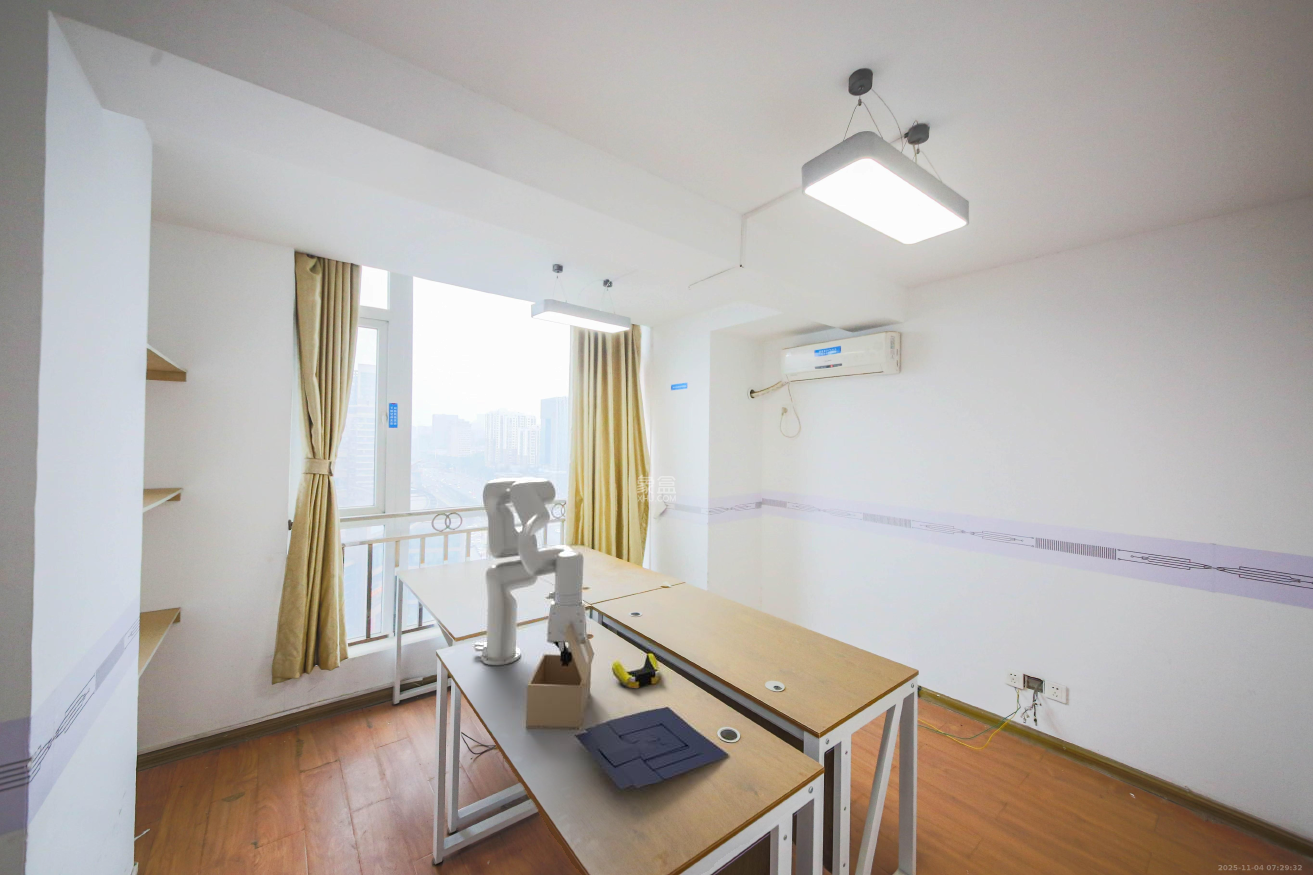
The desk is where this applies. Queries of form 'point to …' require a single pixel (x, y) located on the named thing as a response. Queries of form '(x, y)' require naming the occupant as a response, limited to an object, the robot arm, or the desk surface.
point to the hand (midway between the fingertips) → (566, 663)
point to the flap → (580, 653)
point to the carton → (556, 695)
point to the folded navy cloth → (648, 747)
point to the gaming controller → (638, 673)
